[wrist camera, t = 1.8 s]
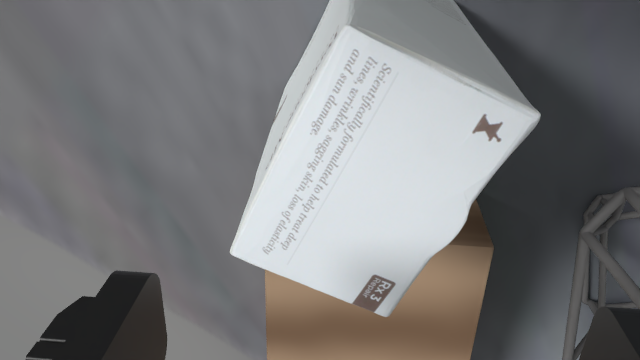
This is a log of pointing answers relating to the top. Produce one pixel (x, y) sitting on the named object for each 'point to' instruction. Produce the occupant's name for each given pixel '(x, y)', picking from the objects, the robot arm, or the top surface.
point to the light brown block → (403, 323)
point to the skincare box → (380, 149)
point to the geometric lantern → (587, 241)
